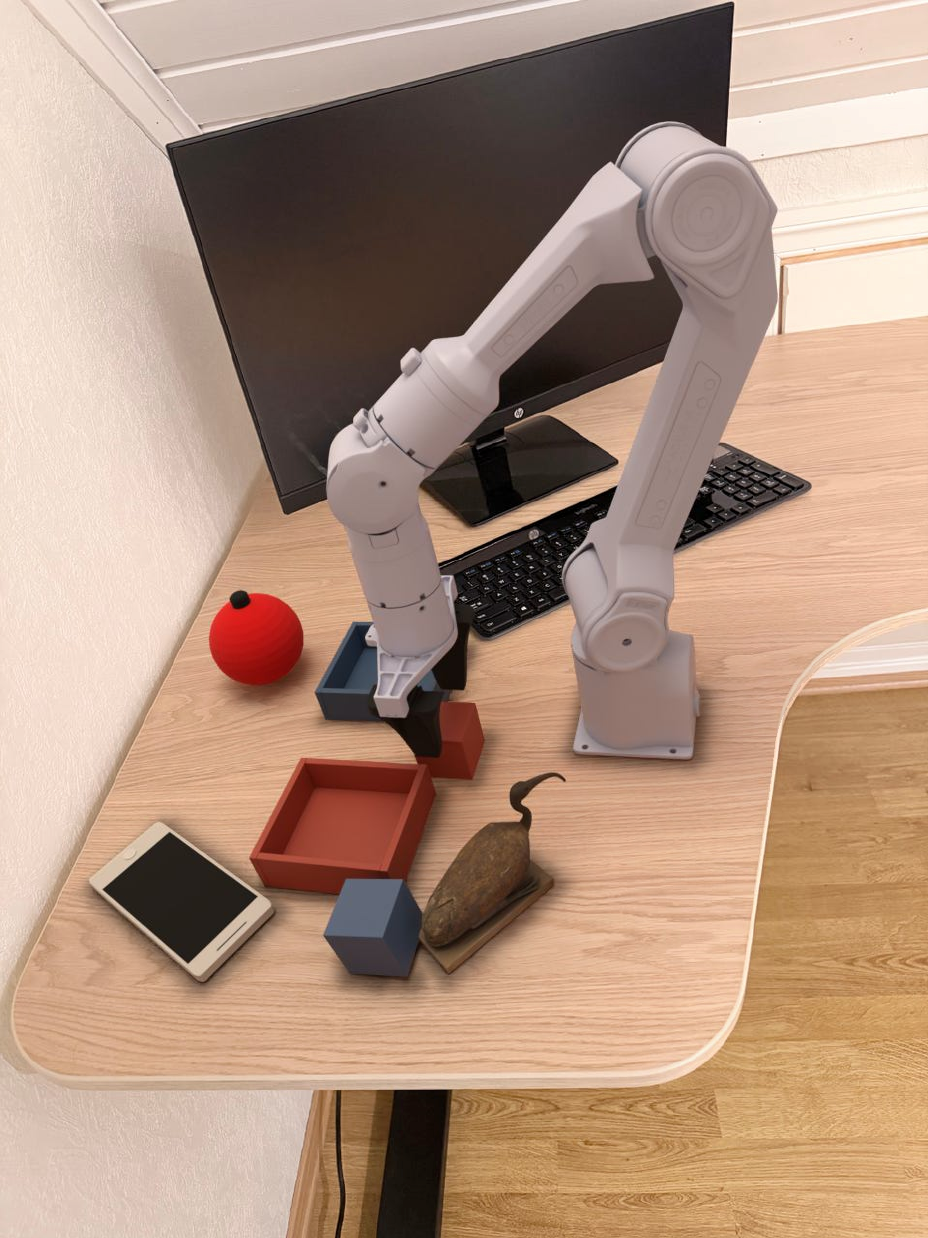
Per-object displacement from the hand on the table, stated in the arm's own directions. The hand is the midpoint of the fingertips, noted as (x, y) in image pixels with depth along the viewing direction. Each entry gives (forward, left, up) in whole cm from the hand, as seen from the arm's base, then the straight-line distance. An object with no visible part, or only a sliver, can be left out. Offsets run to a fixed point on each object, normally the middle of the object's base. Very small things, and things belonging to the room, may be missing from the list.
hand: (441, 719), depth 74 cm
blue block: (0, +18, -4) cm, 18 cm away
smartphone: (+18, +16, -5) cm, 24 cm away
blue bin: (+8, -9, -5) cm, 13 cm away
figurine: (-7, +12, -5) cm, 15 cm away
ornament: (+22, -10, -5) cm, 25 cm away
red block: (0, 0, -5) cm, 5 cm away
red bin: (+6, +9, -5) cm, 12 cm away
